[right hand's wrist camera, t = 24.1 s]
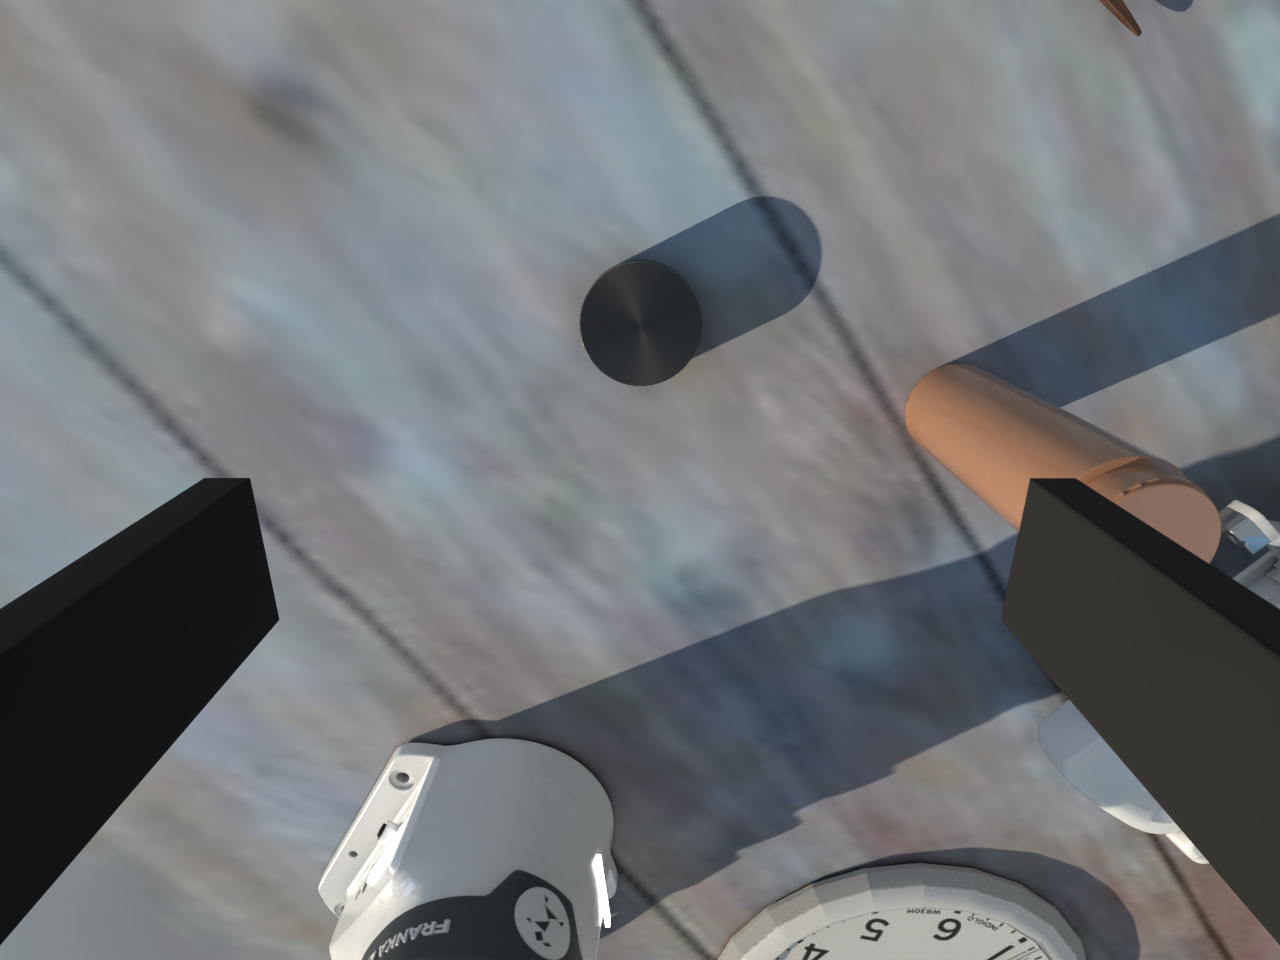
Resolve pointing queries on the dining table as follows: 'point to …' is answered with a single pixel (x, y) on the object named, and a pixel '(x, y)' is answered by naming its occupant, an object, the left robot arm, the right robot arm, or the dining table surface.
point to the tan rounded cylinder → (1049, 454)
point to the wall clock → (908, 919)
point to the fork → (1122, 14)
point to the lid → (640, 323)
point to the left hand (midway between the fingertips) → (1147, 579)
